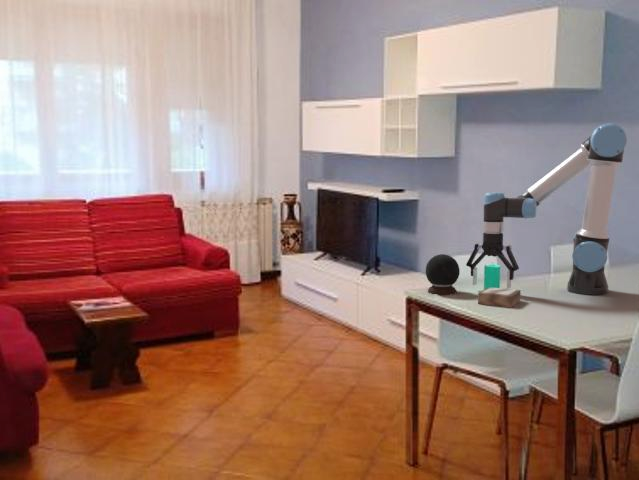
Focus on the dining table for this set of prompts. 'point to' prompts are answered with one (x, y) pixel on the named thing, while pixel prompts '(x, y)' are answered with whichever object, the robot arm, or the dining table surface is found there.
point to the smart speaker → (442, 274)
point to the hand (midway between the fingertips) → (491, 286)
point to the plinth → (499, 297)
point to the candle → (492, 276)
